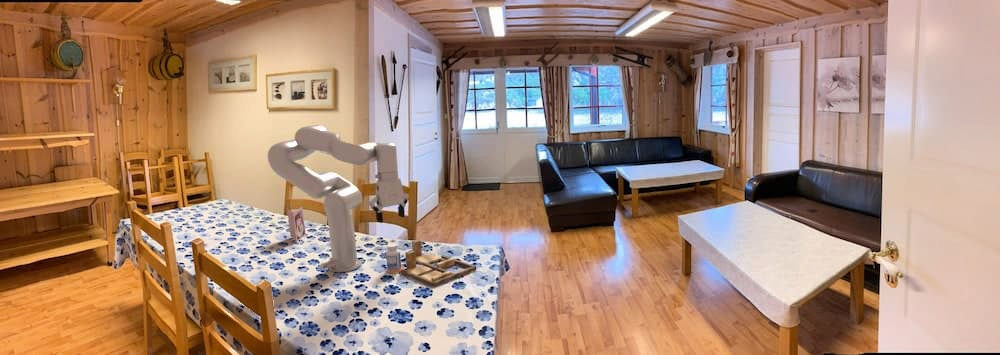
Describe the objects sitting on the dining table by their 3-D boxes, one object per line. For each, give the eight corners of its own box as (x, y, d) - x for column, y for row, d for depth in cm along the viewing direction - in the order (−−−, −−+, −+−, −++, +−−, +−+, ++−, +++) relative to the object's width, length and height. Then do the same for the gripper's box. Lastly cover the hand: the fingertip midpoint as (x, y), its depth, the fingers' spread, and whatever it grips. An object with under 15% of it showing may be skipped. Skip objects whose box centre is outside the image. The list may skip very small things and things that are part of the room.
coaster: (393, 274, 188) (393, 273, 188) (382, 270, 193) (382, 269, 193) (408, 269, 193) (408, 268, 193) (397, 265, 198) (397, 264, 197)
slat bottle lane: (439, 270, 190) (438, 253, 189) (408, 258, 204) (406, 242, 203) (454, 264, 196) (453, 247, 195) (423, 253, 210) (422, 238, 209)
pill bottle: (395, 265, 196) (393, 242, 195) (404, 267, 193) (402, 244, 191) (384, 269, 192) (382, 245, 190) (393, 272, 189) (391, 248, 187)
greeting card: (298, 243, 231) (294, 212, 228) (282, 244, 231) (278, 213, 228) (307, 236, 242) (304, 206, 239) (292, 236, 242) (288, 207, 239)
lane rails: (433, 287, 175) (433, 280, 174) (400, 273, 189) (400, 267, 188) (476, 269, 190) (476, 264, 189) (443, 258, 203) (442, 253, 203)
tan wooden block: (415, 277, 185) (414, 259, 183) (401, 271, 191) (399, 254, 190) (432, 270, 190) (431, 253, 189) (417, 265, 197) (416, 248, 195)
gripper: (373, 180, 178) (376, 226, 181) (412, 173, 190) (415, 216, 193) (362, 178, 183) (365, 222, 186) (401, 171, 195) (404, 213, 198)
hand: (390, 219), depth 190 cm, fingers open, 9 cm apart
